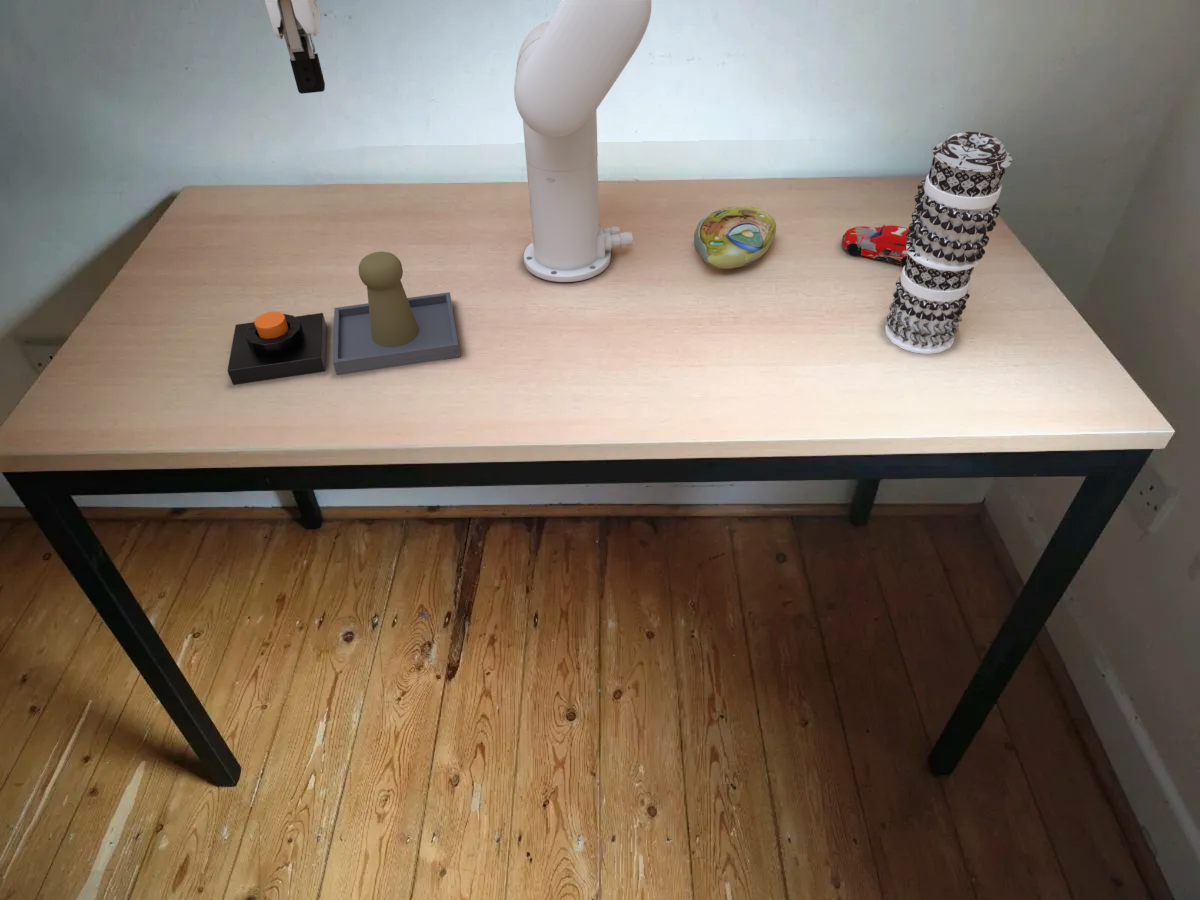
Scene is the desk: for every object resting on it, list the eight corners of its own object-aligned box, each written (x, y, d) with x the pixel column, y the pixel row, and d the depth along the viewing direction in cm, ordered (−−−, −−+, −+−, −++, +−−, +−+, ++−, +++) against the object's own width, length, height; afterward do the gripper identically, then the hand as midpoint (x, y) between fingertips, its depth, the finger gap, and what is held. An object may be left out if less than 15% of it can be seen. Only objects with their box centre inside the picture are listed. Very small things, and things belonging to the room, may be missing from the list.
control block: (327, 326, 110) (319, 300, 107) (325, 371, 103) (317, 345, 100) (240, 338, 109) (230, 312, 106) (233, 385, 101) (222, 358, 99)
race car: (835, 252, 121) (839, 227, 118) (847, 236, 124) (851, 211, 121) (927, 275, 116) (934, 249, 113) (937, 257, 119) (944, 231, 116)
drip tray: (451, 304, 113) (449, 291, 112) (460, 357, 104) (458, 344, 103) (337, 320, 111) (334, 307, 110) (336, 375, 102) (332, 362, 101)
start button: (289, 321, 105) (285, 309, 104) (287, 337, 102) (283, 325, 101) (259, 325, 104) (255, 313, 103) (257, 341, 102) (253, 329, 101)
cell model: (794, 223, 122) (759, 230, 110) (770, 271, 126) (734, 283, 114) (732, 190, 125) (692, 193, 113) (710, 238, 129) (669, 246, 117)
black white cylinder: (866, 324, 108) (911, 133, 90) (924, 307, 110) (979, 118, 93) (912, 363, 101) (970, 166, 84) (972, 344, 104) (1041, 149, 87)
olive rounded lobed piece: (408, 349, 105) (391, 273, 97) (363, 344, 106) (343, 268, 98) (425, 322, 109) (410, 247, 101) (382, 317, 110) (364, 242, 102)
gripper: (300, -69, 86) (342, 109, 99) (306, -97, 97) (343, 67, 110) (225, -63, 85) (277, 116, 98) (239, -93, 96) (284, 72, 109)
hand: (312, 89), depth 104 cm, fingers closed
